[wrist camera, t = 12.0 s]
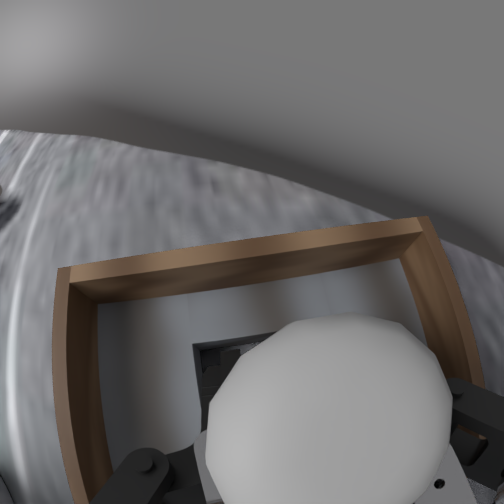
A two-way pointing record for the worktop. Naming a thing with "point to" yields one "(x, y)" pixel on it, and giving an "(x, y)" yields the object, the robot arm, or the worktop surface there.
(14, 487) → the worktop surface
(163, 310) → the bore box
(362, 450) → the salt shaker
